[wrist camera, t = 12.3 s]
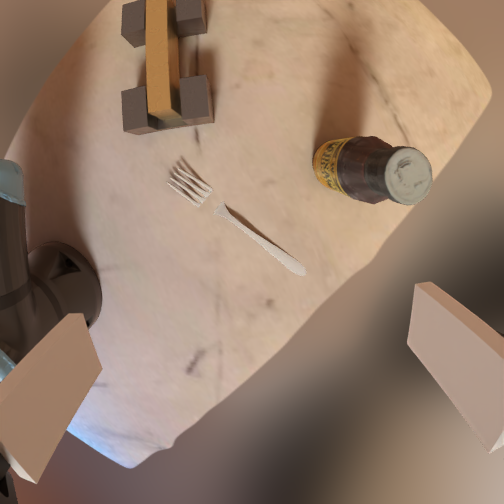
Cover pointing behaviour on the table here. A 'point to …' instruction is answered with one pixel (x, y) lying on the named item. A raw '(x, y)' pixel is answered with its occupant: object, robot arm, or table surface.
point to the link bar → (162, 60)
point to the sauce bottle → (373, 170)
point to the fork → (238, 223)
